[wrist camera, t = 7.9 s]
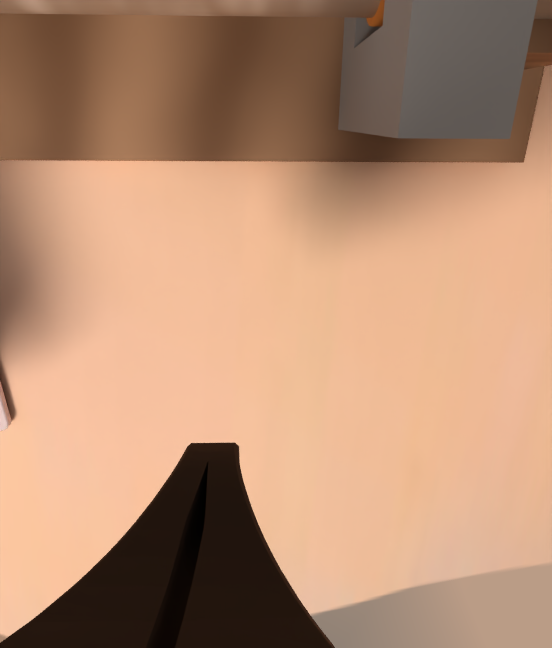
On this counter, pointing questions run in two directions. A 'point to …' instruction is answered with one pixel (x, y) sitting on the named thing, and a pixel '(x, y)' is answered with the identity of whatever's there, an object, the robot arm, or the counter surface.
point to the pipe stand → (208, 83)
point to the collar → (436, 69)
